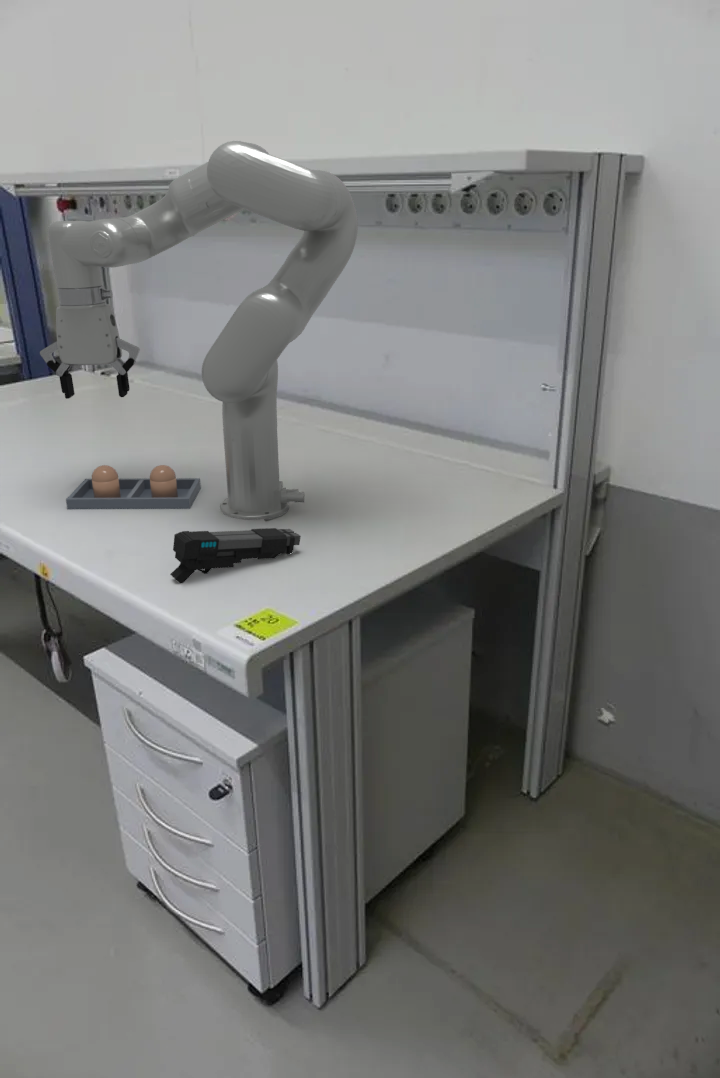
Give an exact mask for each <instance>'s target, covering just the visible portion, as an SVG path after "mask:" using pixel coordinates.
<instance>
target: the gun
mask: <svg viewBox="0 0 720 1078" xmlns="http://www.w3.org/2000/svg"><path fill="white" fill-rule="evenodd" d="M301 537H302V536H301V535H300V534H299V533H297V532H295V531H294V530H293V529H291V528H276V527H272V528H271V527H270V528H269V527H267V528H251V529H250V530H247V529H245V530H224V531H222V530H221V531H209V530H201V531H198V530H197V531H195V530H194V531H189V530H182V531H179V532H176V533H175V534H174V536H173V548H172V550H173V551H174V552H175V553H174V554H175V555H174V559H175V560H177V561H178V562H179V565H178V566H177V567H176V568H174V570H173V571H171V573H170V576H172V578H173V579H174V580H175V581H176V582H177V583H179V584H184V583H185V582H186V581H187V580H188V579H189V578H190V577H191V576H192V575H193V574H194V573H195V572H196V571H198V572H201V573H202V574H204V575H206V574H209V573H210V572H211V570H212V569H213V570H214V569H226V568H227V569H228V568H230V569H231V568H234V566H235V564H241V563H242V560H252V559H257V560H267V559H276V558H277V557H278V556H280V555H284V554H285V555H288V554H290V553H292V552H293V553H294V548H295V546H300V542H301ZM293 553H292V554H293Z"/></svg>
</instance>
